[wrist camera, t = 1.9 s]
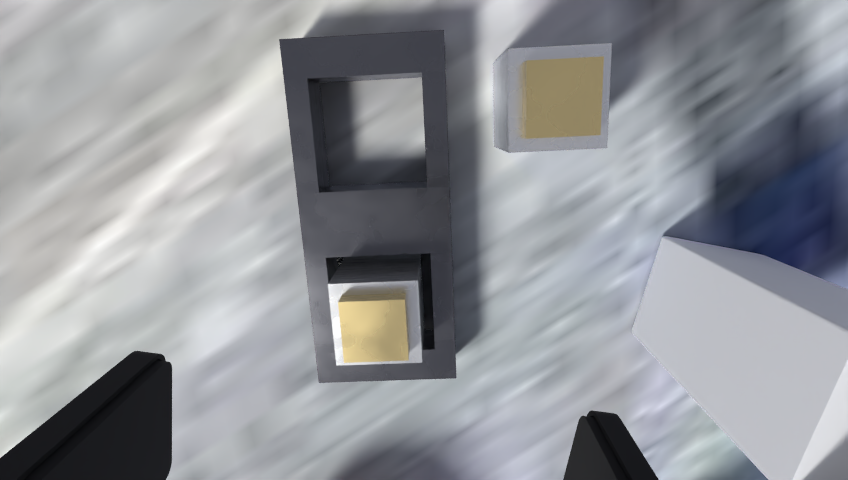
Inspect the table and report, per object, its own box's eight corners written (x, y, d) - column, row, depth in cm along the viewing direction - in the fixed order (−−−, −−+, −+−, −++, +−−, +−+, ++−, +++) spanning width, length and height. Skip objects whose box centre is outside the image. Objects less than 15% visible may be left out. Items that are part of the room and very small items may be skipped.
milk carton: (727, 349, 33) (1096, 638, 15) (628, 331, 33) (878, 600, 14) (763, 254, 31) (1236, 445, 13) (660, 234, 31) (989, 399, 13)
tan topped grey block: (420, 251, 32) (417, 286, 25) (424, 319, 33) (421, 371, 26) (347, 254, 32) (323, 290, 25) (353, 322, 33) (332, 374, 26)
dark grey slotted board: (442, 39, 28) (443, 30, 25) (454, 355, 34) (456, 378, 31) (294, 47, 29) (279, 39, 26) (328, 360, 34) (318, 382, 31)
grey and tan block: (575, 59, 29) (620, 39, 22) (573, 142, 30) (614, 149, 23) (492, 63, 29) (511, 45, 22) (493, 146, 30) (511, 153, 23)
